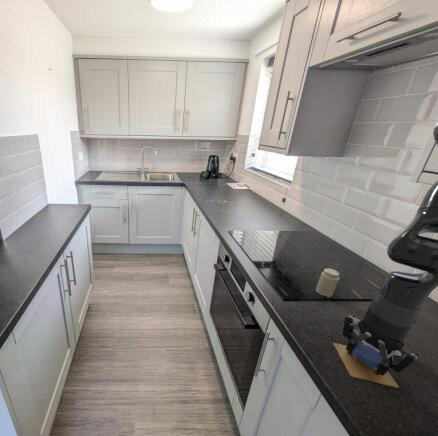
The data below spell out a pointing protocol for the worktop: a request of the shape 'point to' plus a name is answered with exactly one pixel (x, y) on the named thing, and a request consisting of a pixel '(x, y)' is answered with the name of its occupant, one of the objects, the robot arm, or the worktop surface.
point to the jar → (327, 282)
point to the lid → (367, 355)
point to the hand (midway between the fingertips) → (363, 362)
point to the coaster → (362, 368)
